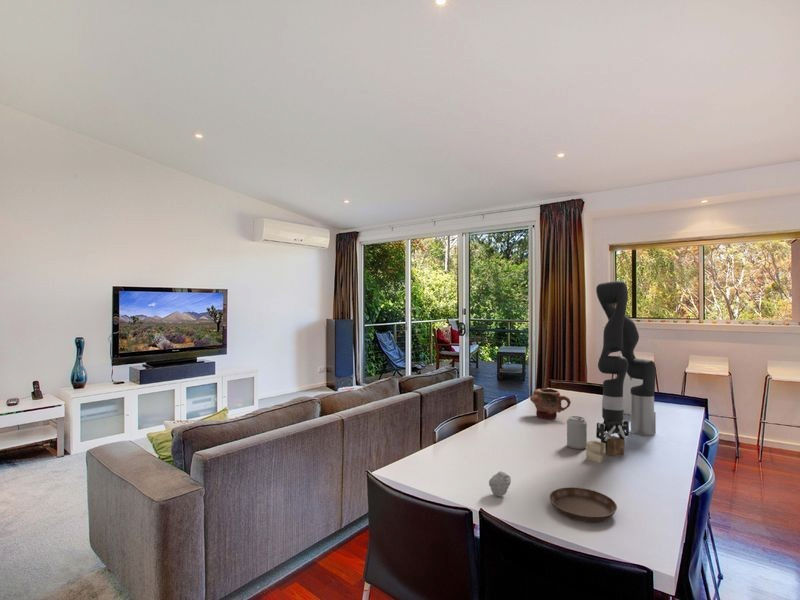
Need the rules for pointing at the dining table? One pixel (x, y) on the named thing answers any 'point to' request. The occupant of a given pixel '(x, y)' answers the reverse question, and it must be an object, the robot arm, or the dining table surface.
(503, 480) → the grey lumpy rounded piece
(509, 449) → the dining table surface
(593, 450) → the maple block
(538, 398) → the clay jug
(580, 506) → the plant saucer
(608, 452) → the walnut block
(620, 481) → the dining table surface
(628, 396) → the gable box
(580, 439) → the can
